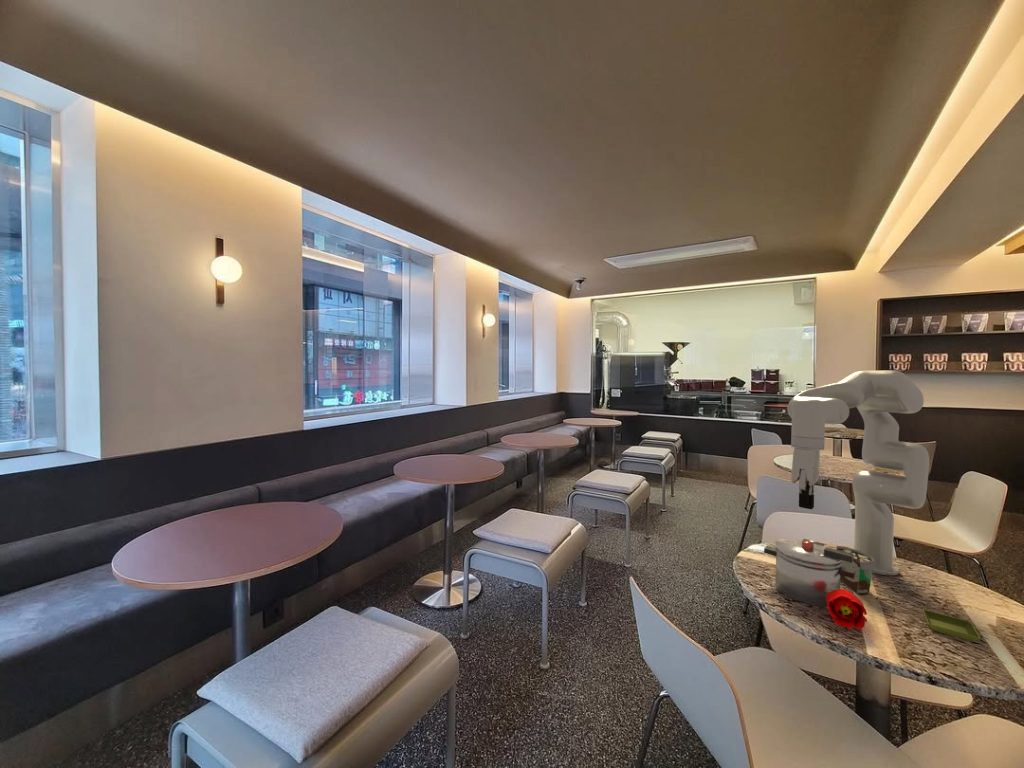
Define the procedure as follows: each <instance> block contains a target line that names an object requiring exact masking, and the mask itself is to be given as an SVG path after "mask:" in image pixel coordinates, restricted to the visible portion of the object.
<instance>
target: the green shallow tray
mask: <svg viewBox="0 0 1024 768" xmlns="http://www.w3.org/2000/svg"><path fill="white" fill-rule="evenodd" d="M921 610H922V613H923V615H924V618H925V620H926V623H927V625H928V626H929V628H930V629H931V630H933V632H937V633H941V634H945V635H948V636H953V637H954V638H955V637H956V638H958V639H962V640H965V641H970V642H975V641H978V640H980V639H981V637H980V635H979V633H978V630H977V629H976V628H975V625H974V624H973V623H972V622H971V621H969V620H966V619H962V618H958V617H954V616H950V615H946V614H942V613H939V612H936V611H932V610H928V609H921Z"/></svg>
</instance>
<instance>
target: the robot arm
mask: <svg viewBox="0 0 1024 768" xmlns="http://www.w3.org/2000/svg"><path fill="white" fill-rule="evenodd" d="M924 401H925V399H924V395H923V392H922V390H921V389H920V388H919V386H918V385H916V383H915V382H914V381H913V380H912V379H911V378H910V377H909V376H908V375H906V374H905V373H903V372H901V371H900V370H893V369H892V370H891V369H890V370H889V369H888V370H886V369H885V370H859V371H855V372H853V373H851V374H849V375H847V376H846V377H844V378H843V379H841V380H840V381H837V383H836V382H835V383H831V384H827V385H822V386H818V387H814V388H813V387H812V388H809V389H806V390H803V391H801V392H799V393H798V394H796V395H794V396H793V397H792V398H791V399H790V401H789V402H788V405H787V414H788V416H789V417H790V418H791V435H790V436H791V439H790V446H791V448H794V449H793V454H792V463H791V465H792V466H791V479H790V480H791V482H792V483H793V484H795V483H797V482H798V489H799V490H798V507H799V508H802V509H807V510H813V509H814V508H815V484H816V483H817V482H818V481H819V479H820V471H821V470H820V466H821V465H820V461H821V458H820V456H821V455H820V454H821V452H820V451H824V450H825V441H826V439H825V436H826V435H825V433H826V431H825V430H826V427H825V426H826V425H841V424H843V423H844V422H845V421H846V420H847V419H848V418H849V416H850V409H854V408H857V410H858V413H860V415H861V417H862V420H863V424H864V431H863V440H862V448H861V458H862V461H863V463H864V464H865V465H867V466H870V467H873V468H879V469H884V470H890V471H895V472H896V471H897V472H902V473H904V475H897V474H893V473H885V472H881V471H875V470H861V471H858V472H856V473H855V474H854V475H853V477H852V481H851V482H852V489H853V495H854V505H855V509H854V511H855V512H854V542H853V543H854V547H853V549H855V550H858V551H861V552H864V553H866V554H868V555H870V556H871V557H872V558H873V560H874V561H875V565H876V568H875V569H873V570H872V574H876V575H883V576H897V575H899V574H900V569H899V568H898V567H897V566H896V565H894V563H893V559H894V558H893V557H894V554H893V553H894V530H895V529H894V528H895V527H894V526H895V517H894V514H893V512H892V510H891V509H890V508H889V507H888V505H893V506H898V507H901V508H907V509H913V510H918V509H921V508H922V507H924V505H925V503H926V500H927V499H926V498H927V491H928V480H929V469H930V455H929V452H928V450H927V448H926V446H925V447H924V445H921V444H919V443H915V442H908V441H907V442H906V441H900V440H899V433H900V425H899V423H898V421H897V420H896V419H895V418H894V417H893V416H892V414H890V413H895V414H908V415H909V414H915V413H917V412H919V411H921V409H922V408H923V407H924V403H925V402H924ZM887 504H888V505H887Z"/></svg>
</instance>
